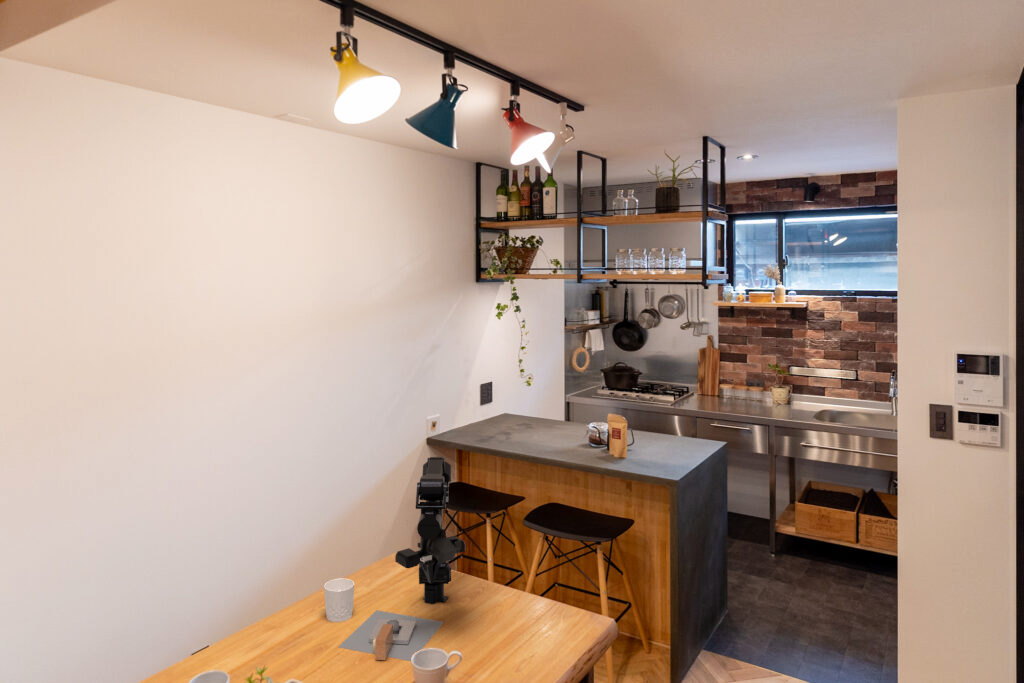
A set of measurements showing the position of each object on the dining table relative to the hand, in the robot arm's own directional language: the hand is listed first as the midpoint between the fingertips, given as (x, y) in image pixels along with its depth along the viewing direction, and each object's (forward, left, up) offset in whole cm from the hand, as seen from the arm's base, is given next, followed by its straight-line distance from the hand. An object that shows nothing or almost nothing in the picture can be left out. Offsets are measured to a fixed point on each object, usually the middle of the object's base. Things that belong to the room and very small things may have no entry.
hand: (430, 582), depth 180 cm
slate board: (+8, -7, -12) cm, 16 cm away
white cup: (+4, -25, -13) cm, 28 cm away
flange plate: (+12, -6, -11) cm, 17 cm away
